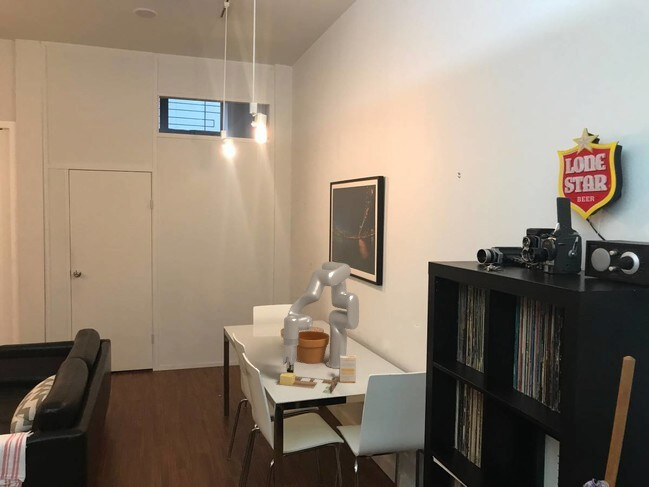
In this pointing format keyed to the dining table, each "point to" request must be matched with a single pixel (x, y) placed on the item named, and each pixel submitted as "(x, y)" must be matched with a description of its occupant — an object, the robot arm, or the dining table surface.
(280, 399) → the dining table surface
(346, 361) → the supplement box
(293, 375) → the ochre block
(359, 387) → the dining table surface
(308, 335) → the flower pot
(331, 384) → the trap board
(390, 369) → the dining table surface
